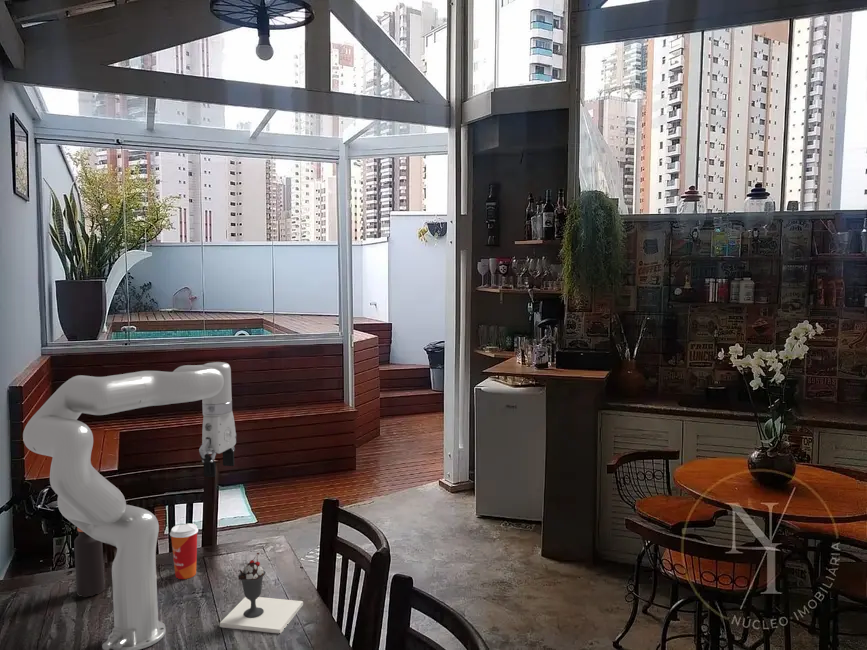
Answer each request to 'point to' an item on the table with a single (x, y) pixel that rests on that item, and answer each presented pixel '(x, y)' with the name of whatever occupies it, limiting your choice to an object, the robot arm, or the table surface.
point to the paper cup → (184, 550)
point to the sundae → (252, 586)
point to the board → (263, 615)
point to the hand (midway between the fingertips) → (219, 470)
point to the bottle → (88, 565)
